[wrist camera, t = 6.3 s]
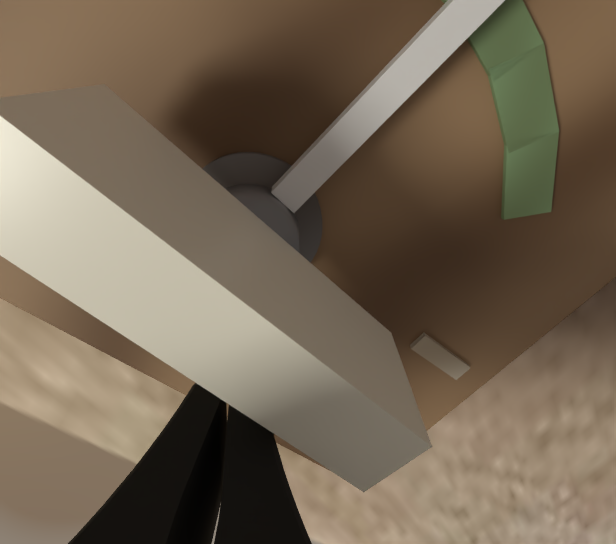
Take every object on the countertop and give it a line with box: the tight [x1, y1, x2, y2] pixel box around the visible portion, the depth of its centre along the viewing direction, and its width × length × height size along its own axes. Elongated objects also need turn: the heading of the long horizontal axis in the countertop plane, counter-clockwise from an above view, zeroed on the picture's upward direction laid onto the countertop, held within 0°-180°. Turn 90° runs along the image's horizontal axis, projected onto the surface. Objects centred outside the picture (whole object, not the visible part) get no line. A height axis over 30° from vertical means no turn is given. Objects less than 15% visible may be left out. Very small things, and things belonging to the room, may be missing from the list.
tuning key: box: [0, 0, 505, 492], centre depth 7 cm, size 9×8×5 cm
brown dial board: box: [0, 0, 616, 470], centre depth 10 cm, size 20×16×2 cm
